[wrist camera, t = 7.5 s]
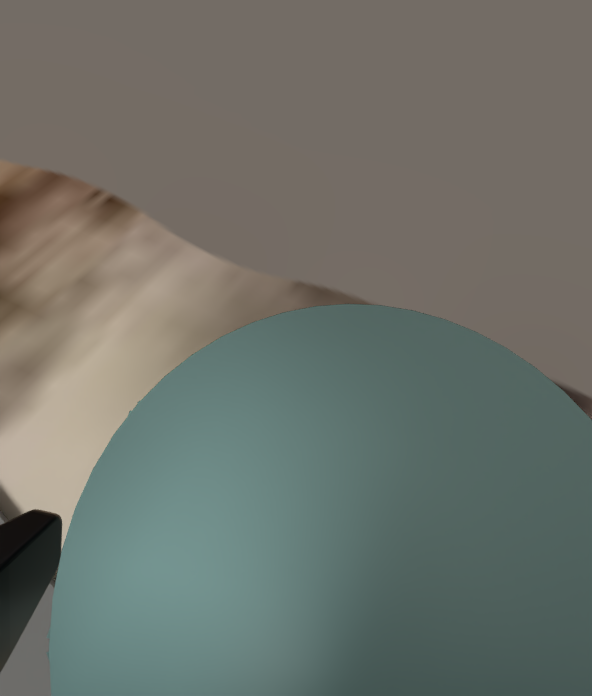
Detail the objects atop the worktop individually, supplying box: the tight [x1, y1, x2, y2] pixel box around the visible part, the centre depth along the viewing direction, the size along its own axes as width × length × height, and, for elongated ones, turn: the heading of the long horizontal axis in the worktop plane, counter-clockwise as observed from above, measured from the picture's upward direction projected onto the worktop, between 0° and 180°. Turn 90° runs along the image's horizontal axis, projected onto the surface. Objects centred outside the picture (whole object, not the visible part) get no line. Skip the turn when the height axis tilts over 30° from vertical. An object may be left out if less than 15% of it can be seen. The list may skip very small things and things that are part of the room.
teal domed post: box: [46, 304, 592, 696], centre depth 10 cm, size 7×7×11 cm
